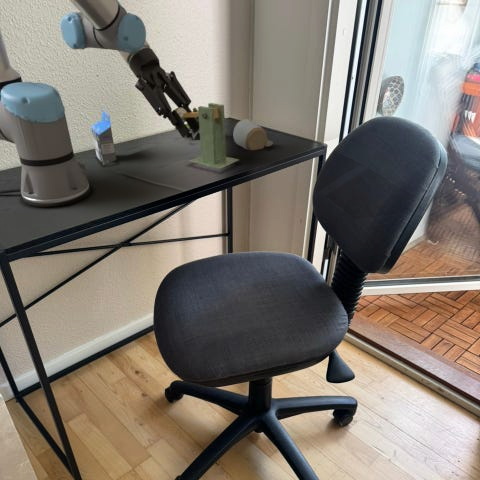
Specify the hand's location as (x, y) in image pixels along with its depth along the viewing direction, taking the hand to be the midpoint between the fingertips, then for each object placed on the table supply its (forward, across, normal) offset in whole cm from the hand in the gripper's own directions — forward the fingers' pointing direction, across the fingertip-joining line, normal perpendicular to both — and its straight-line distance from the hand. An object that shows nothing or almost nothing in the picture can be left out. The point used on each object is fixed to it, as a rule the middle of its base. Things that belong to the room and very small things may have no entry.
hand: (191, 131), depth 126 cm
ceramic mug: (+11, -17, +1) cm, 21 cm away
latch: (-1, 0, +3) cm, 3 cm away
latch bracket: (+10, 0, 0) cm, 10 cm away
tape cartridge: (-9, +14, -20) cm, 26 cm away
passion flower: (-2, -15, -13) cm, 20 cm away
